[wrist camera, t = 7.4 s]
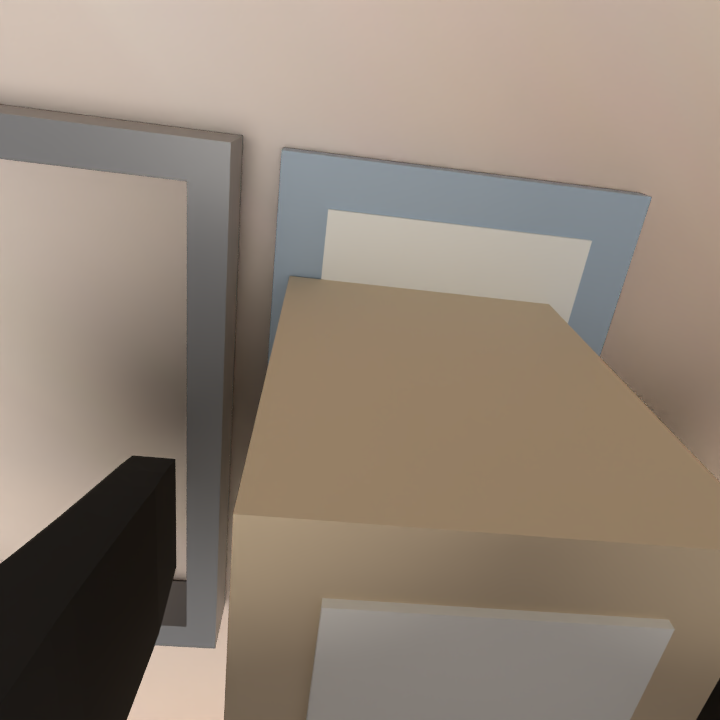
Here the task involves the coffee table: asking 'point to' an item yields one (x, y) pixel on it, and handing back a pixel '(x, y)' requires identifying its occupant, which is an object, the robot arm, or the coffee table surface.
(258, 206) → the coffee table surface
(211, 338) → the grey square frame
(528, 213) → the pad
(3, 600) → the robot arm
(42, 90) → the coffee table surface
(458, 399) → the box
